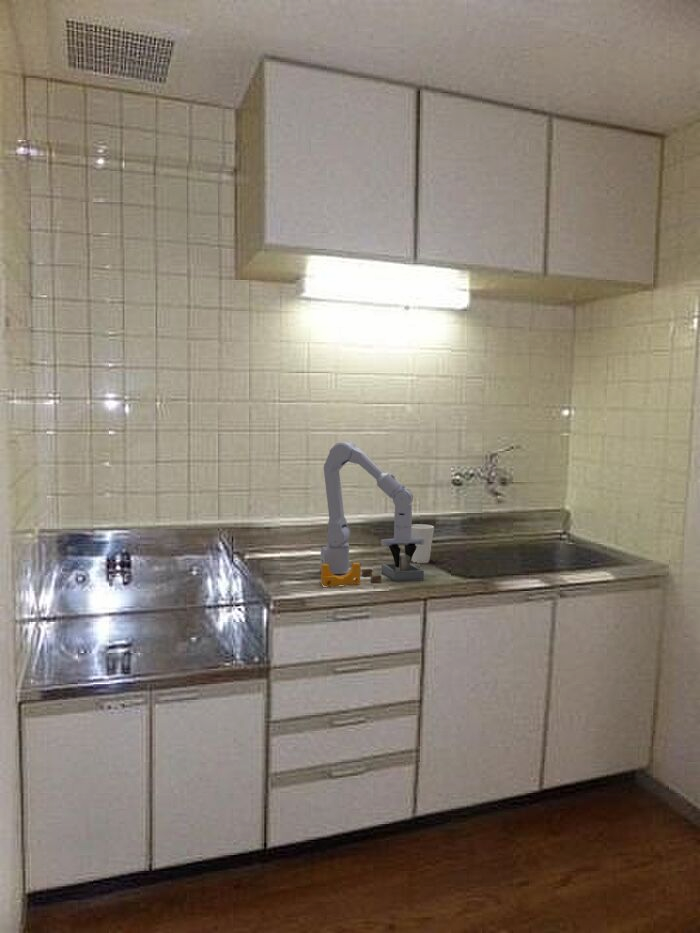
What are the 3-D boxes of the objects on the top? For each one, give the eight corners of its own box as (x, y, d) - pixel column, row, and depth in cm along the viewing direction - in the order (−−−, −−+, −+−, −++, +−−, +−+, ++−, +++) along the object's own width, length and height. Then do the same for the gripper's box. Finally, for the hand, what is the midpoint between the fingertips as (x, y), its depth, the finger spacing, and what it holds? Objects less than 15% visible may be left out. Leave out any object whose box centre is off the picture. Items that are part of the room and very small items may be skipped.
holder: (372, 582, 209) (372, 576, 209) (362, 575, 219) (362, 569, 219) (381, 582, 210) (381, 576, 209) (370, 574, 220) (370, 568, 220)
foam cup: (407, 563, 238) (408, 528, 238) (407, 558, 248) (407, 524, 247) (434, 564, 238) (434, 528, 237) (432, 559, 247) (433, 524, 246)
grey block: (401, 575, 215) (401, 557, 214) (394, 570, 221) (394, 553, 221) (410, 574, 216) (410, 556, 215) (402, 570, 222) (402, 552, 222)
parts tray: (394, 581, 211) (394, 572, 211) (381, 572, 223) (381, 563, 223) (423, 579, 214) (423, 570, 213) (409, 571, 226) (409, 562, 226)
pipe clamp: (324, 587, 203) (324, 566, 202) (321, 584, 207) (321, 564, 206) (361, 585, 206) (361, 565, 205) (358, 582, 210) (358, 562, 209)
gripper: (386, 528, 212) (385, 570, 212) (428, 527, 215) (427, 568, 216) (379, 525, 218) (378, 565, 219) (419, 523, 222) (419, 563, 223)
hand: (402, 566), depth 218 cm, fingers closed on grey block, 3 cm apart
